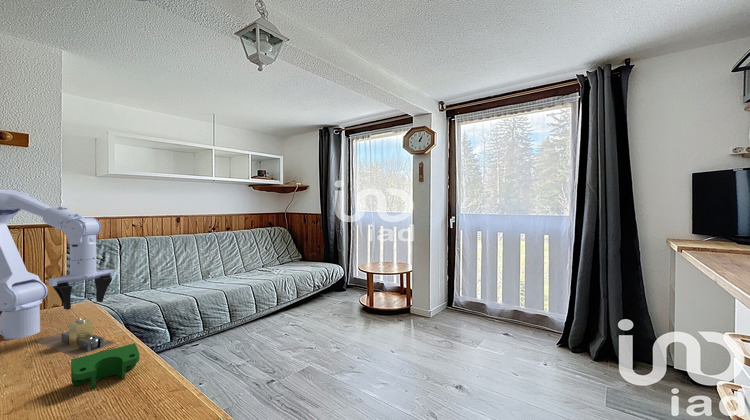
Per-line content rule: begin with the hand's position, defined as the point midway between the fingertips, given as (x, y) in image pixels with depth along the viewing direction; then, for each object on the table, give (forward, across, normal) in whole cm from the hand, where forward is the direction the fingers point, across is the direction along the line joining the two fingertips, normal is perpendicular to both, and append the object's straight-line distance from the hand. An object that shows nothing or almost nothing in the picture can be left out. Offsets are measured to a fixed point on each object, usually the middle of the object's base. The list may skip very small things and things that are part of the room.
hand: (84, 305), depth 94 cm
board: (+9, -4, -5) cm, 11 cm away
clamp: (+10, -10, -33) cm, 36 cm away
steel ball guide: (+8, -4, -9) cm, 13 cm away
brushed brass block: (+8, -4, -8) cm, 12 cm away
